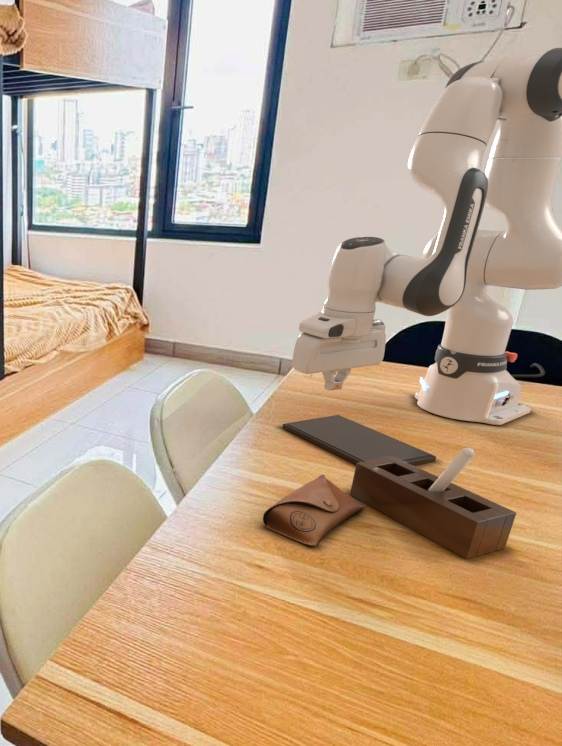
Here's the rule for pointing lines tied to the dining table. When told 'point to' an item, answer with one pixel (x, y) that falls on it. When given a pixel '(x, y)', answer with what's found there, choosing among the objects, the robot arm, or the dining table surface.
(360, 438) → the tablet
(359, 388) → the dining table surface
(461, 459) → the stylus
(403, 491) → the pen holder
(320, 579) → the dining table surface
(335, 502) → the sunglasses case
